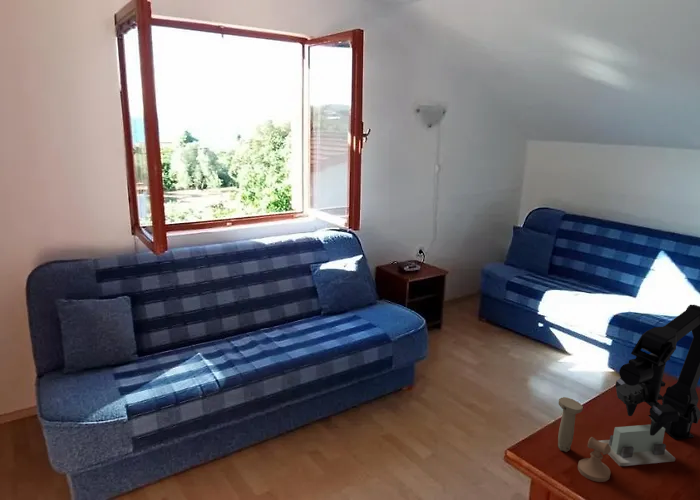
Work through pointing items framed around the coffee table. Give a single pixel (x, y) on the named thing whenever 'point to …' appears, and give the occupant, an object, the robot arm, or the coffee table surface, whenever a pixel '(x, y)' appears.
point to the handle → (567, 422)
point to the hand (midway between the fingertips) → (640, 425)
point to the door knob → (595, 462)
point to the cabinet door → (636, 438)
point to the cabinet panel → (639, 455)
